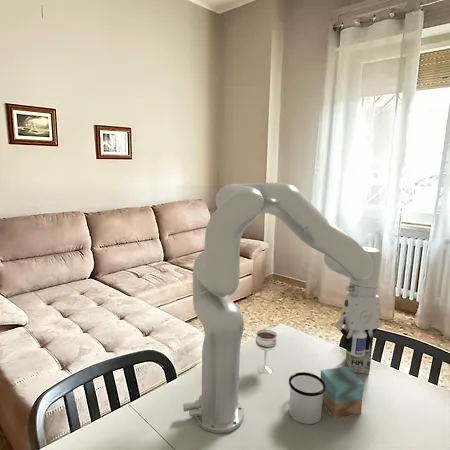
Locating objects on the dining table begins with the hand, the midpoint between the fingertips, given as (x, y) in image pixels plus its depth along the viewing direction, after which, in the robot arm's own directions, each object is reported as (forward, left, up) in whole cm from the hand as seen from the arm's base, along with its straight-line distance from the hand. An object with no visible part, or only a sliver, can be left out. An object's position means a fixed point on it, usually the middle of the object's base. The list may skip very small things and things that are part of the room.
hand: (355, 347), depth 103 cm
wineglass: (-23, +13, -12) cm, 29 cm away
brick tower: (-9, -8, -12) cm, 17 cm away
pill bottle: (0, 0, -2) cm, 2 cm away
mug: (-20, -7, -12) cm, 24 cm away
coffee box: (+8, +9, -12) cm, 17 cm away
